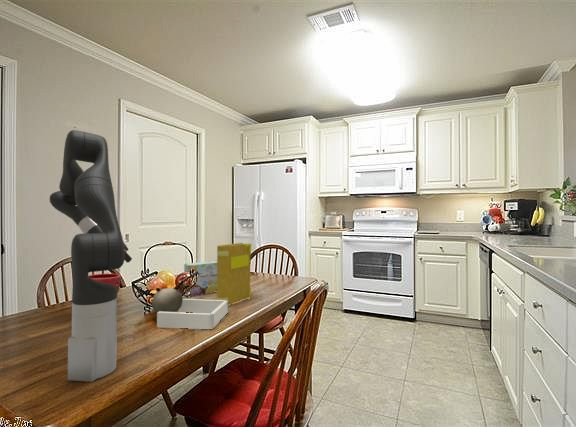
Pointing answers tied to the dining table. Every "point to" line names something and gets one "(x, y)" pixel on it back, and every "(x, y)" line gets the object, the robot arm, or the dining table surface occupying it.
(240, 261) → the book
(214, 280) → the snack box
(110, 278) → the plant pot
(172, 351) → the dining table surface
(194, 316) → the box
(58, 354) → the dining table surface
